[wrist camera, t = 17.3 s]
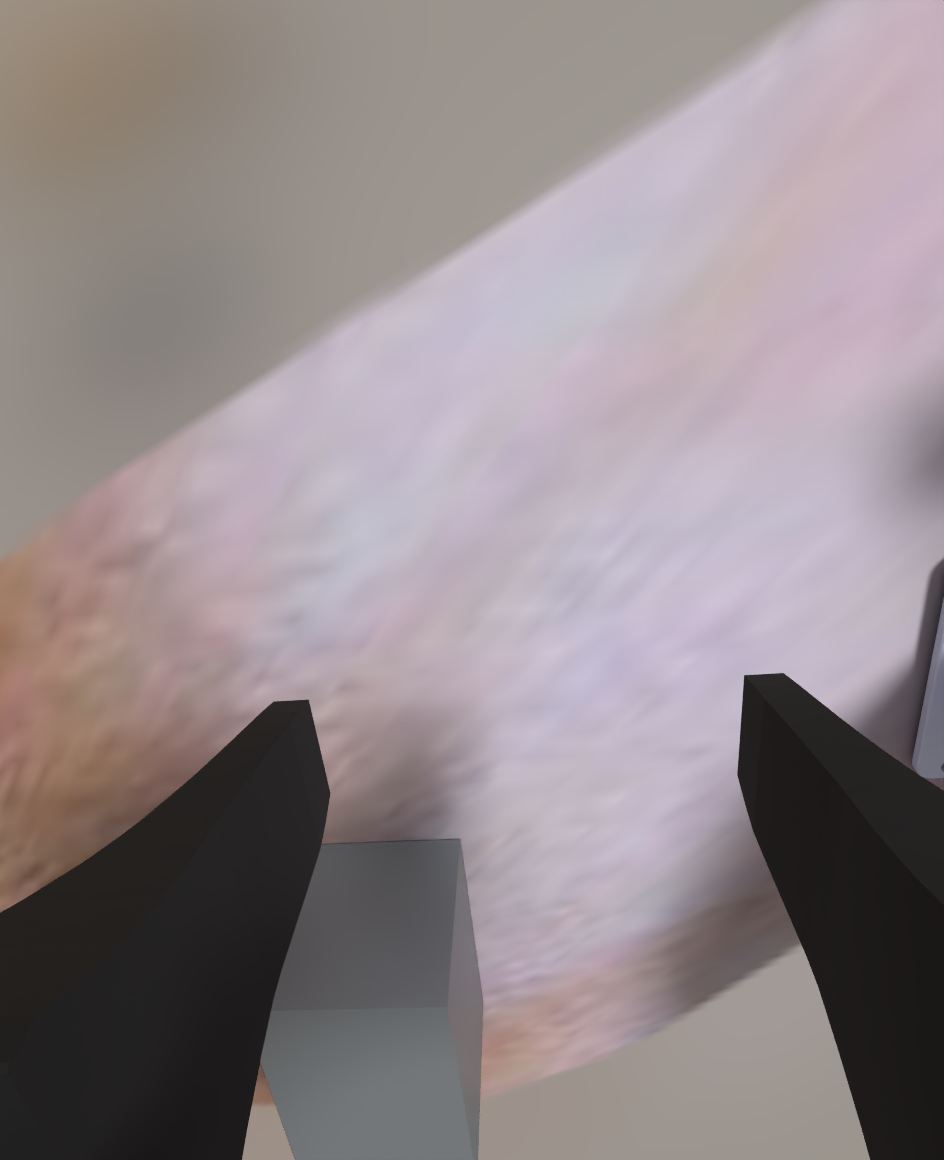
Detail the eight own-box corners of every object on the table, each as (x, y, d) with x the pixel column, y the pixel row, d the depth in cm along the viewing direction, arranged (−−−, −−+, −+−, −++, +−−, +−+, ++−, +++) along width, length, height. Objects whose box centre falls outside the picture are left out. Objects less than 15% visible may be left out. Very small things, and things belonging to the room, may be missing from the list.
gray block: (460, 839, 28) (447, 1007, 22) (483, 1002, 32) (477, 1181, 26) (296, 845, 28) (242, 1011, 22) (339, 1005, 32) (302, 1181, 26)
